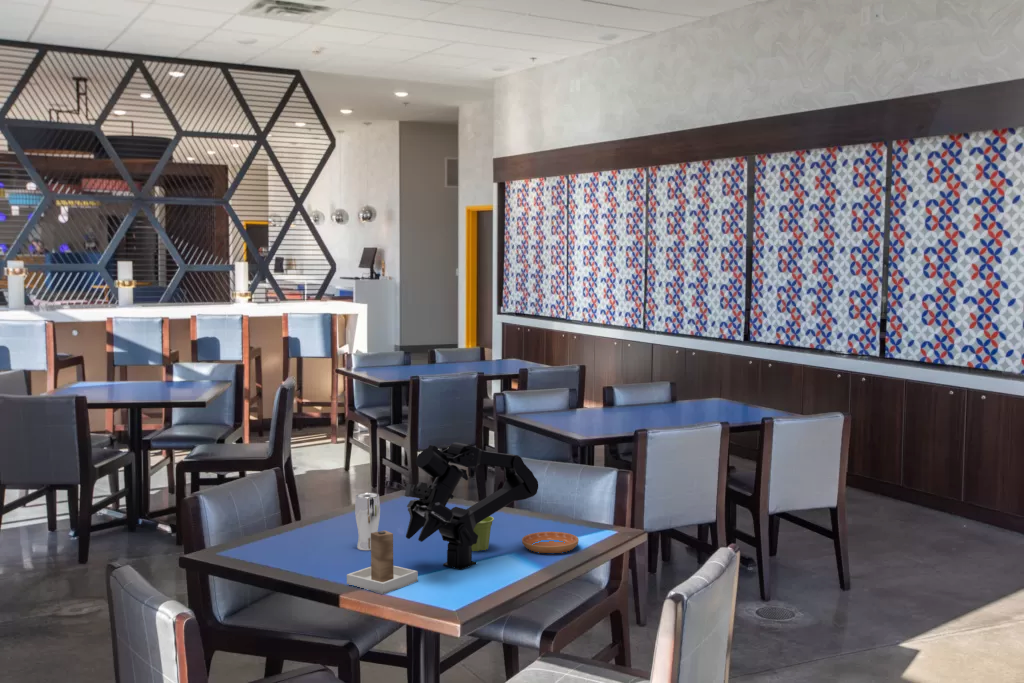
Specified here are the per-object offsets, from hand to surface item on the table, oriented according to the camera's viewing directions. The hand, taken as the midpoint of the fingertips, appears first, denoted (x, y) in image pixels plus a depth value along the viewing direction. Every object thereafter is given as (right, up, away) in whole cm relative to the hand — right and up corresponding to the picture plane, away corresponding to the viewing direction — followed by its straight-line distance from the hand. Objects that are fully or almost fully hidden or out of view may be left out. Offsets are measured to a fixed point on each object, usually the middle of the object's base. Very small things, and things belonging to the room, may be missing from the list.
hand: (413, 539), depth 243 cm
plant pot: (+15, -8, +25) cm, 31 cm away
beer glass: (-16, -8, +27) cm, 32 cm away
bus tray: (-7, -10, -5) cm, 13 cm away
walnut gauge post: (-7, -9, -5) cm, 13 cm away
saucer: (+36, -8, +26) cm, 45 cm away
